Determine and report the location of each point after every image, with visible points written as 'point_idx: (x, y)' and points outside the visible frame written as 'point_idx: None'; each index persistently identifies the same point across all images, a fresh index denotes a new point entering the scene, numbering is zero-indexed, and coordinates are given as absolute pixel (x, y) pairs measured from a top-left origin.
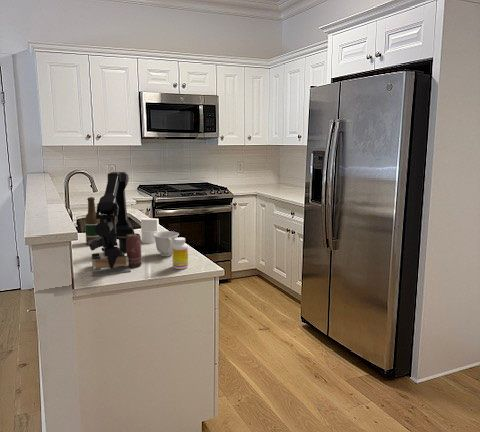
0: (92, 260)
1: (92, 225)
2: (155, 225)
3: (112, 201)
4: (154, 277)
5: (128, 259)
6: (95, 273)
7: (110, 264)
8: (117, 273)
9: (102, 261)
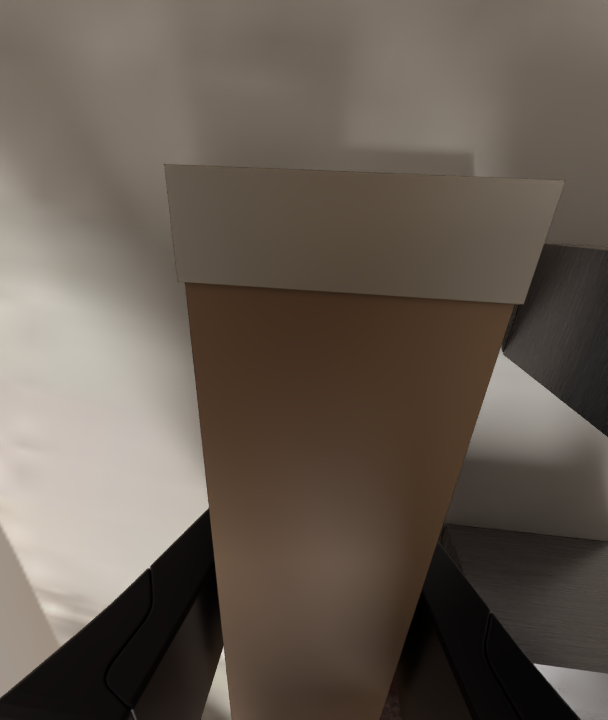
0: (386, 173)
1: None
2: None
3: None
4: (67, 630)
5: (388, 701)
6: None
7: (206, 523)
8: None
9: (217, 469)
